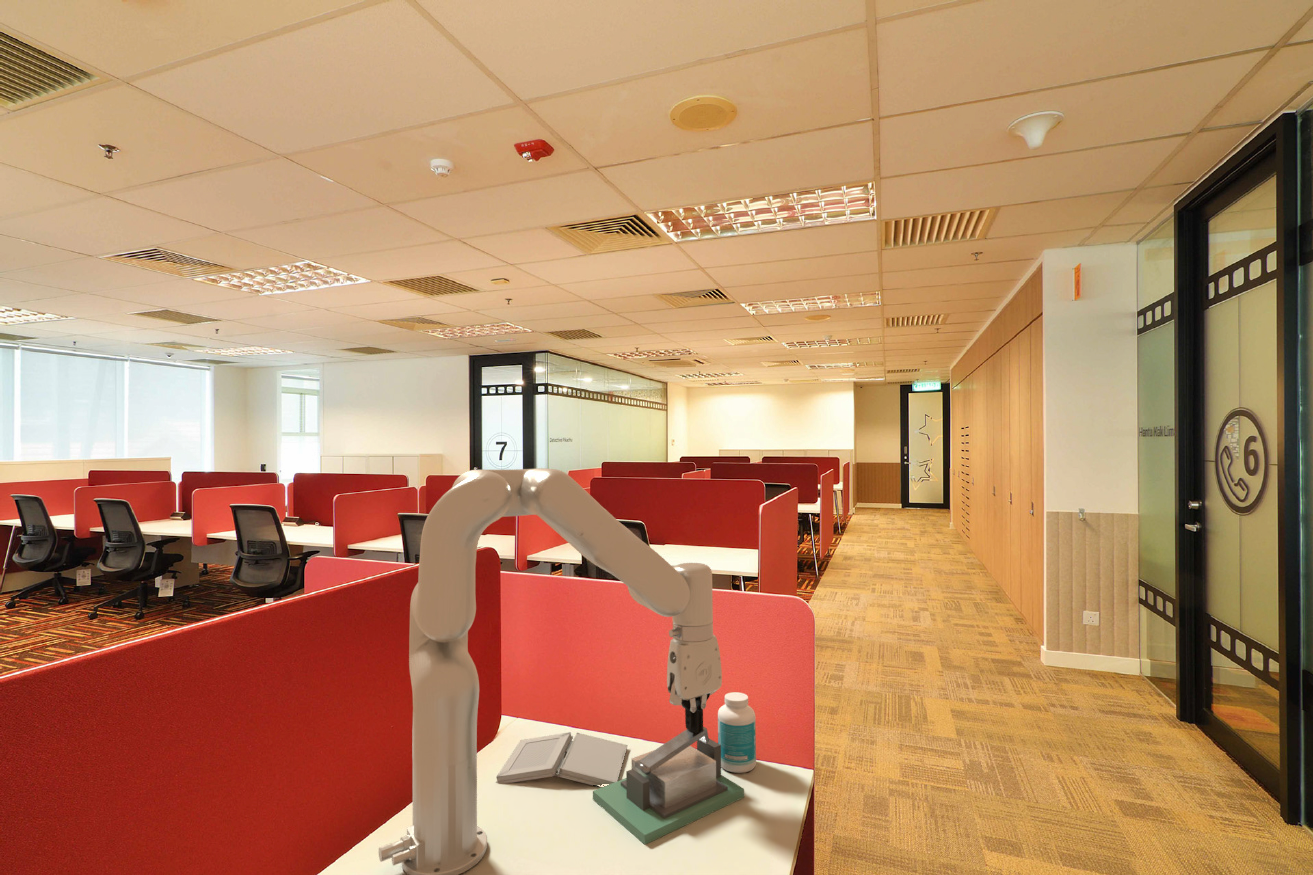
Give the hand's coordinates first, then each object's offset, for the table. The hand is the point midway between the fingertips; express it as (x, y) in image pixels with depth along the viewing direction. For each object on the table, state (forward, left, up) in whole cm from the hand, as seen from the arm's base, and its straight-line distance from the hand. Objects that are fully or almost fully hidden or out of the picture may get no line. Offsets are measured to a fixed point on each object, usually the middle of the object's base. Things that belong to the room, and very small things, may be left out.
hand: (694, 729), depth 115 cm
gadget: (-15, +22, -11) cm, 29 cm away
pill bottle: (+12, +1, -11) cm, 16 cm away
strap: (-5, 0, -4) cm, 6 cm away
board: (-6, 0, -11) cm, 12 cm away
